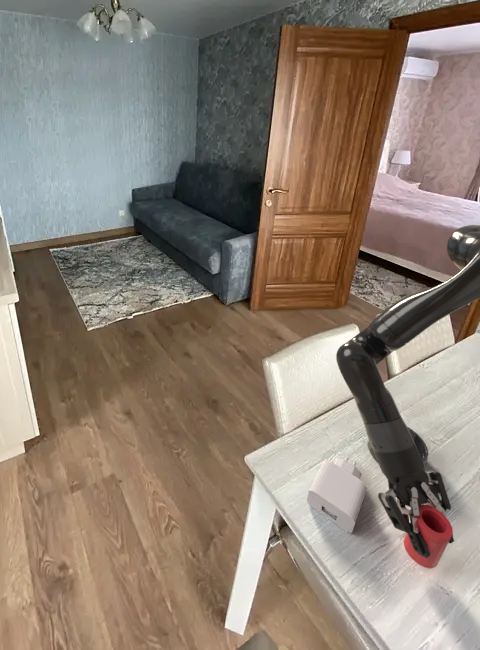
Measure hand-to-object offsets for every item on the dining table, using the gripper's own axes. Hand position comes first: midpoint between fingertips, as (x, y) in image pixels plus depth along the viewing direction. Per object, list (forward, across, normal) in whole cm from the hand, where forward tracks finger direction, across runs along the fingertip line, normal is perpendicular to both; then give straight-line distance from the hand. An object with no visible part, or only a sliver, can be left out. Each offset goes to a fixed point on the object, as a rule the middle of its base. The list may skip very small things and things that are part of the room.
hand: (436, 547), depth 61 cm
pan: (-8, +16, +19) cm, 26 cm away
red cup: (+2, 0, +4) cm, 5 cm away
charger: (-7, -4, +17) cm, 19 cm away
